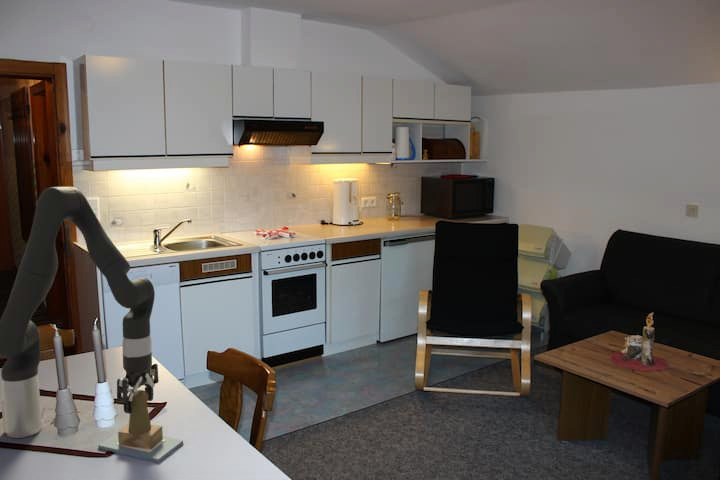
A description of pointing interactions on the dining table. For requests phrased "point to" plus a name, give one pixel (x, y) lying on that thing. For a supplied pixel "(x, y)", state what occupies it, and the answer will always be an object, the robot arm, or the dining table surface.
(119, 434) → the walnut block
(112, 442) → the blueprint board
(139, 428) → the olive pawn
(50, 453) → the dining table surface
